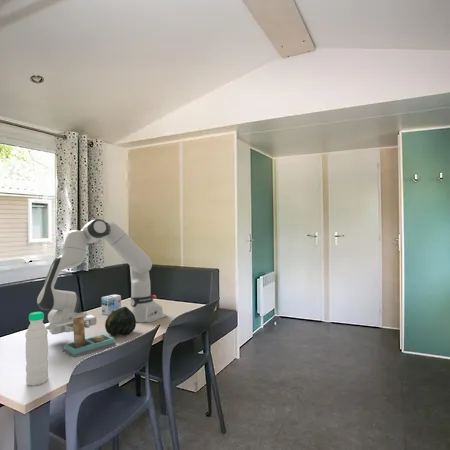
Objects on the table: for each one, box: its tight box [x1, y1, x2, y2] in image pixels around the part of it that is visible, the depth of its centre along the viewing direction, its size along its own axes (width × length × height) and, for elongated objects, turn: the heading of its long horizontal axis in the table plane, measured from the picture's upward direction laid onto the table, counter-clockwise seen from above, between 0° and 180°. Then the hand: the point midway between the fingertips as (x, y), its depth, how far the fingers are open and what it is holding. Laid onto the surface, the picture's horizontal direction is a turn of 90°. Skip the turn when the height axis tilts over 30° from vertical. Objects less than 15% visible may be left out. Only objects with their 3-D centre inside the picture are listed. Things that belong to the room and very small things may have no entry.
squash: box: [104, 306, 137, 336], centre depth 173 cm, size 14×15×15 cm
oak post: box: [73, 316, 86, 349], centre depth 150 cm, size 4×4×14 cm
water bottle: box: [25, 311, 49, 387], centre depth 121 cm, size 7×7×25 cm
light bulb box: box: [101, 293, 122, 316], centre depth 215 cm, size 11×7×11 cm, turn 148°
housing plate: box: [62, 333, 117, 358], centre depth 154 cm, size 20×11×4 cm, turn 137°
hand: (80, 327), depth 150 cm, fingers open, 5 cm apart
